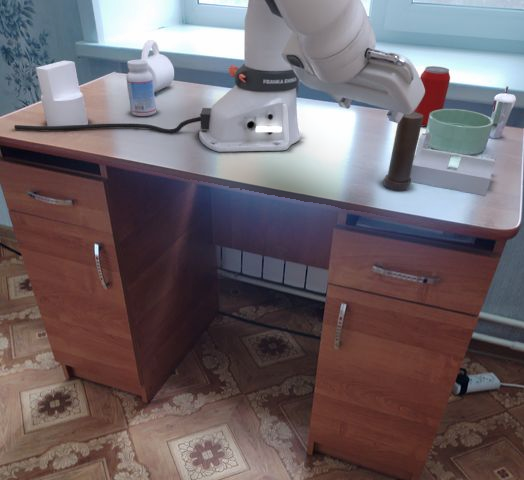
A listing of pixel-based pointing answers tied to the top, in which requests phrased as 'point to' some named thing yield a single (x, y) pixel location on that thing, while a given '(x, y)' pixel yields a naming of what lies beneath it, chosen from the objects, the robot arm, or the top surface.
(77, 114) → the white stepped block
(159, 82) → the mug
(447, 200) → the top surface
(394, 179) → the pestle
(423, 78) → the beverage can
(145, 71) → the pill bottle
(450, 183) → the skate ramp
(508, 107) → the milkshake
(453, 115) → the bowl
